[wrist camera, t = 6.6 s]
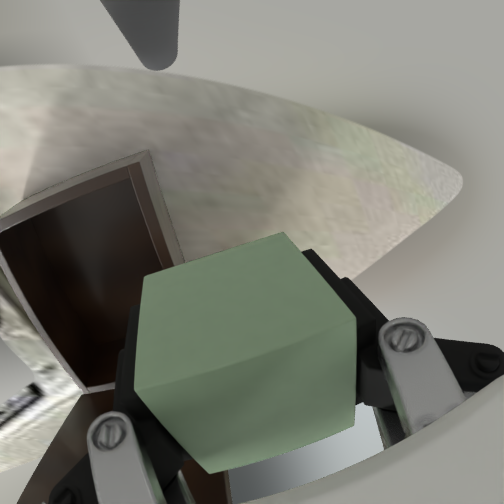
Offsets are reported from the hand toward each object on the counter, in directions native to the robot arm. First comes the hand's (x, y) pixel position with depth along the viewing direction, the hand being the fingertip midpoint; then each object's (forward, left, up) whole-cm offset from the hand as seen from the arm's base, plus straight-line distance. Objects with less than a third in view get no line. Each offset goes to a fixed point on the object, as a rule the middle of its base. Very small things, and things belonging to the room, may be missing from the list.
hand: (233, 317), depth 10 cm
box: (+4, -9, -17) cm, 20 cm away
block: (0, 0, 0) cm, 0 cm away
